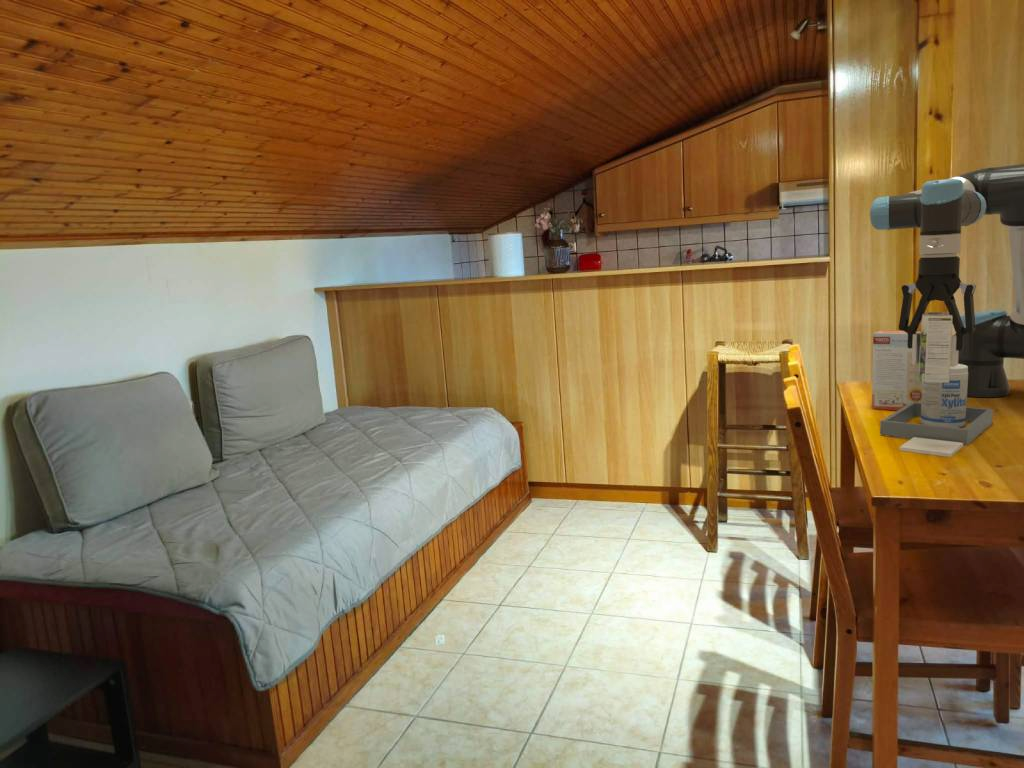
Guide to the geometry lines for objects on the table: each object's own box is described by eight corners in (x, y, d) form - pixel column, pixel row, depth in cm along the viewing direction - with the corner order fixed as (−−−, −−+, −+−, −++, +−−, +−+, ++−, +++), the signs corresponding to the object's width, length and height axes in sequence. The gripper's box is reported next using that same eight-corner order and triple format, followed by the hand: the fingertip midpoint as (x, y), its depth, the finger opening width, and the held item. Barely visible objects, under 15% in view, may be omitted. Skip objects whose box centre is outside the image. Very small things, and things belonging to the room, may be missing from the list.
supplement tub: (946, 431, 180) (949, 370, 177) (911, 424, 188) (913, 365, 186) (974, 426, 184) (978, 365, 181) (939, 418, 192) (941, 360, 190)
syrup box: (918, 378, 168) (920, 312, 166) (949, 378, 166) (951, 311, 163) (919, 382, 163) (921, 314, 161) (950, 383, 161) (953, 314, 158)
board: (913, 440, 174) (913, 437, 174) (963, 446, 167) (963, 442, 167) (899, 450, 167) (899, 447, 167) (950, 457, 160) (950, 453, 160)
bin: (911, 415, 197) (911, 402, 196) (992, 423, 185) (993, 409, 184) (880, 435, 180) (880, 420, 179) (966, 445, 168) (967, 430, 167)
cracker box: (934, 409, 202) (937, 330, 198) (928, 414, 197) (931, 333, 194) (877, 404, 211) (880, 329, 207) (870, 409, 207) (872, 331, 203)
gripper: (883, 258, 164) (879, 364, 168) (989, 255, 151) (983, 370, 155) (894, 256, 169) (891, 359, 173) (998, 253, 156) (991, 365, 160)
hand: (934, 364), depth 164 cm, fingers closed on syrup box, 7 cm apart
